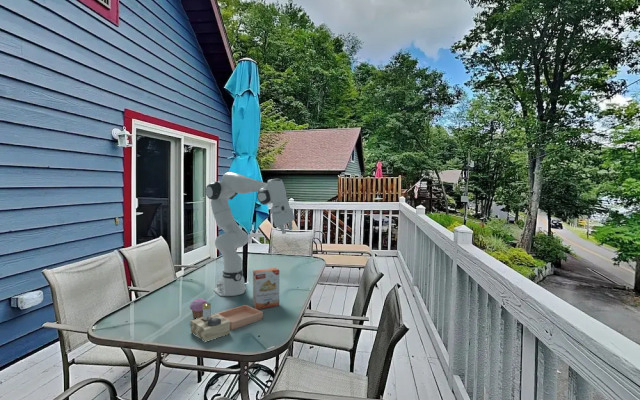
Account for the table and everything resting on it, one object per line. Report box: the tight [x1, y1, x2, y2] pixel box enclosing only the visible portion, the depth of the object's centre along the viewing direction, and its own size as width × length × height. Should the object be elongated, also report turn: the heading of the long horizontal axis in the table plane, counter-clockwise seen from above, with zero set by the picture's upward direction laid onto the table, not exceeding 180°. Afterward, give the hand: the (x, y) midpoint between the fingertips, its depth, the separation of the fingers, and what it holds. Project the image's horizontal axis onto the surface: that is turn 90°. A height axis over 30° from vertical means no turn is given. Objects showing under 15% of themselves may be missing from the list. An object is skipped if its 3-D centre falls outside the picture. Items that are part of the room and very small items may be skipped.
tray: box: [215, 304, 264, 331], centre depth 170 cm, size 16×18×4 cm
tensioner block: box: [190, 313, 231, 341], centre depth 154 cm, size 14×12×7 cm
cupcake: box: [189, 297, 209, 319], centre depth 172 cm, size 9×9×10 cm
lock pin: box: [203, 302, 212, 322], centre depth 156 cm, size 4×4×13 cm
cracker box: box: [252, 267, 280, 310], centre depth 188 cm, size 14×6×21 cm, turn 118°
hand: (287, 231), depth 183 cm, fingers open, 8 cm apart
